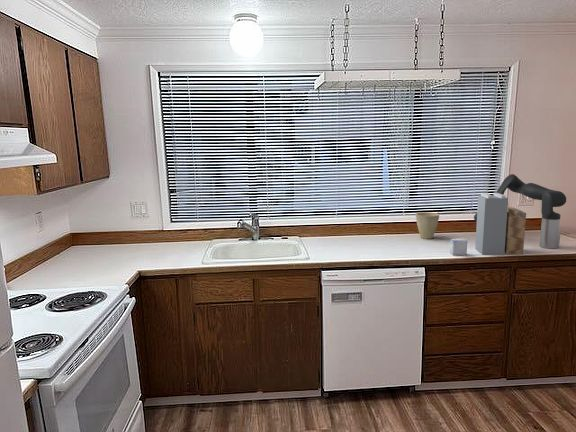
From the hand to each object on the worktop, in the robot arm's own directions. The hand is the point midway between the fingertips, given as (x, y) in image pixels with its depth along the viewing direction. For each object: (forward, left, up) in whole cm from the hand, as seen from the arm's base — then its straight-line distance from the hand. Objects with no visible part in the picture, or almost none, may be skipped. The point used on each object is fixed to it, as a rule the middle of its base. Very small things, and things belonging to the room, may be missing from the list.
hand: (499, 201), depth 265 cm
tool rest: (0, +21, -26) cm, 34 cm away
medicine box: (+31, +28, -26) cm, 50 cm away
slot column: (+12, +22, -26) cm, 36 cm away
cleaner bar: (0, +20, -4) cm, 20 cm away
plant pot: (+40, -13, -26) cm, 49 cm away
